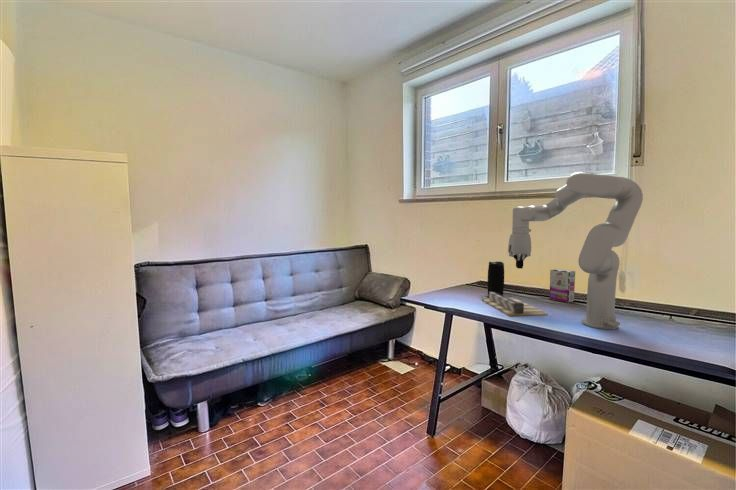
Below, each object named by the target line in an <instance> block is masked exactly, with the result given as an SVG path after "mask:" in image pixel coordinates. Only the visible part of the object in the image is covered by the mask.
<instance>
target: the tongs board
mask: <svg viewBox="0 0 736 490" xmlns="http://www.w3.org/2000/svg"><path fill="white" fill-rule="evenodd" d="M509 298H510V299H512V300H514V301H516V302H518V303H514V302H512V301H510V300H508V299H506V298H504V297H502V296H500V295H498V294H495V293H493V292H489V296H488V298H481V301H482V302H484V303H486V304H487V305H489V306H491V307H492V308H493V309H496V310H497V311H499V312H501V313H502V314H504V315H506V316H507V317H532V316H533V317H534V316H535V317H536V316H537V317H538V316H539V317H540V316H543V317H544V316H548V312H546V311H543V310H542V309H539V308H538V307H535V306H533V305H530V304H529V303H527V302H524V301H522V300H520V299H518V298H515V297H509Z"/></svg>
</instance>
